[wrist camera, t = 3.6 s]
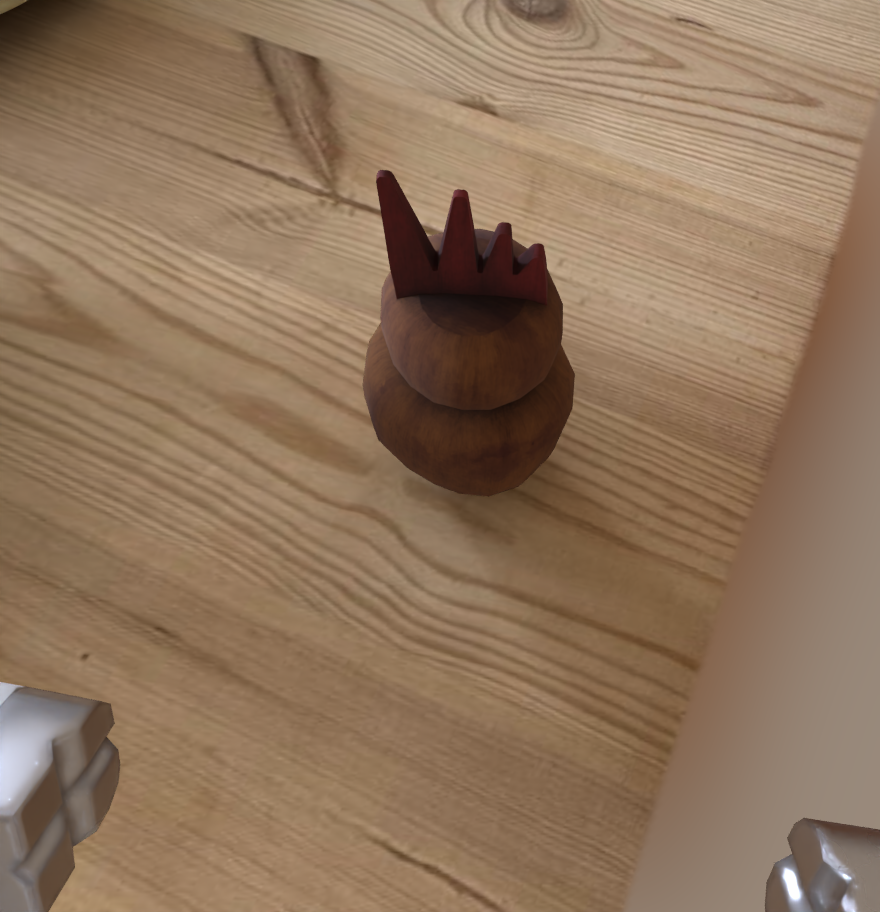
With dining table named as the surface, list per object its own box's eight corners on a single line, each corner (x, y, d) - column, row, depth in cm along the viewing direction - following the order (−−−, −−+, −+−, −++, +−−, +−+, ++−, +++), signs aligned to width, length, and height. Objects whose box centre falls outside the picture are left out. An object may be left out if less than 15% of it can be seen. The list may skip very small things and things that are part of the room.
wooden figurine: (354, 464, 28) (254, 228, 14) (421, 344, 30) (393, 22, 16) (513, 540, 27) (578, 369, 13) (574, 412, 29) (692, 133, 15)
